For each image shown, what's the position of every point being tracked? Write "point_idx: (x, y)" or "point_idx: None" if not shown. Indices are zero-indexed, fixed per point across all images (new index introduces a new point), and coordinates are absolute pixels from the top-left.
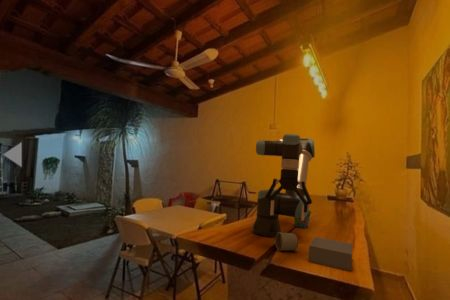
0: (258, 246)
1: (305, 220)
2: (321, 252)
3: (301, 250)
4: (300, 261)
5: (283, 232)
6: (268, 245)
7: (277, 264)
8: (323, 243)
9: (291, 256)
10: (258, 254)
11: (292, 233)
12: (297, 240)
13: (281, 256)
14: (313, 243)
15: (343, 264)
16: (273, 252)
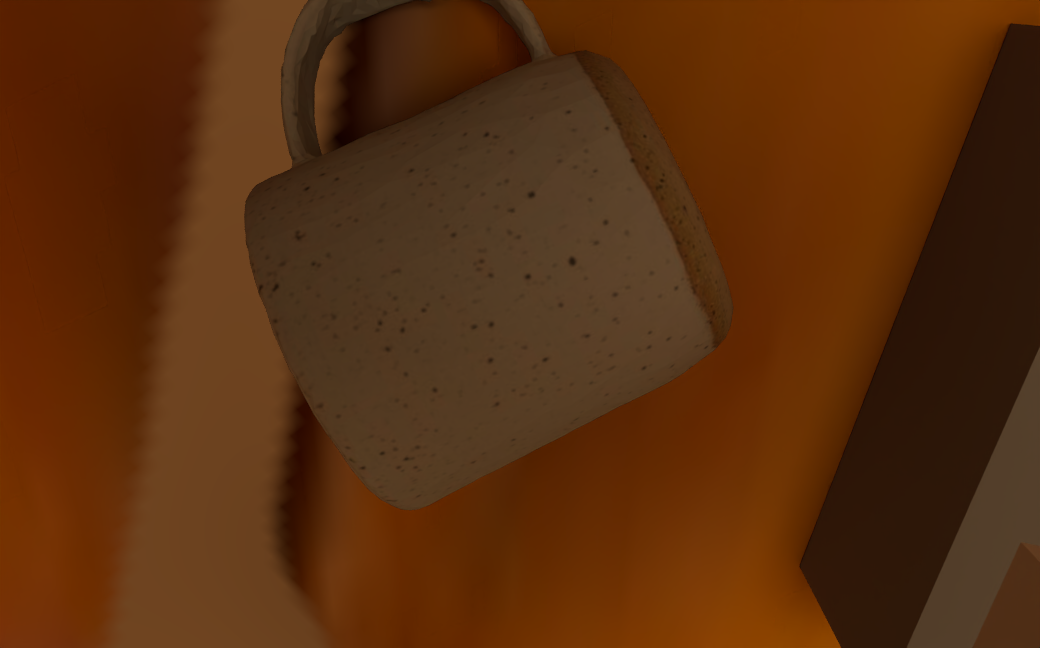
0: (8, 257)
1: None
2: None
3: (768, 133)
4: (687, 612)
5: (406, 330)
6: (163, 117)
7: None
8: None
9: (574, 485)
10: (103, 599)
11: (626, 244)
12: (713, 348)
13: (429, 543)
14: (991, 569)
15: None
16: (299, 435)
